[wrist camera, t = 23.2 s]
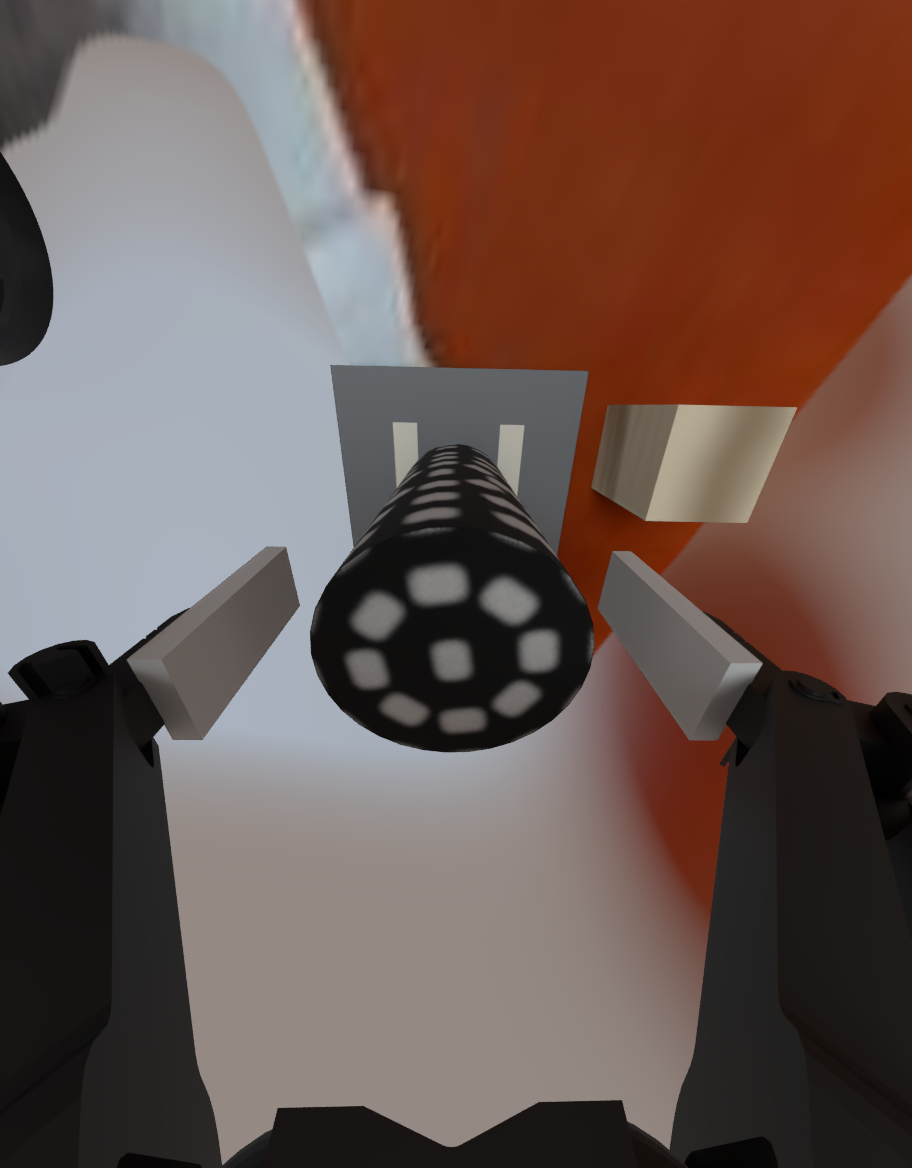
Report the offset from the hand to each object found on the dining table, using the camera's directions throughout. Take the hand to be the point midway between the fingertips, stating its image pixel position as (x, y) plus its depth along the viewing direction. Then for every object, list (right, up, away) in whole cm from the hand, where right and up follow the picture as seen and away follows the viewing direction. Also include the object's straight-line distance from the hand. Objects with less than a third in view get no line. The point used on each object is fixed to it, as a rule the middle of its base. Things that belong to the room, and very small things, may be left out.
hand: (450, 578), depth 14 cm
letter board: (0, +7, +14) cm, 16 cm away
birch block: (+14, +10, +12) cm, 22 cm away
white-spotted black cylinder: (0, +7, +14) cm, 16 cm away
